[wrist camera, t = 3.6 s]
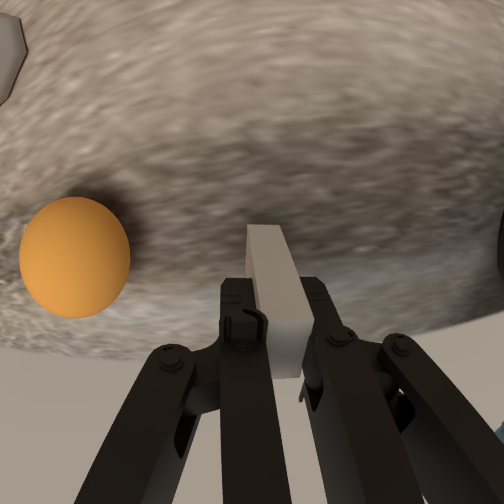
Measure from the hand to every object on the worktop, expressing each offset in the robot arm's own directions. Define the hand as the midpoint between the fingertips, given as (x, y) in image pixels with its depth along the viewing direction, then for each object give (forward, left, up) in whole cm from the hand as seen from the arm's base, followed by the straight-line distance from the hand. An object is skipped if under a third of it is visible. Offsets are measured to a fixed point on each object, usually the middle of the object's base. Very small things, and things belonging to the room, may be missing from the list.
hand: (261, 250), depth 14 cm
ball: (+9, 0, +1) cm, 9 cm away
